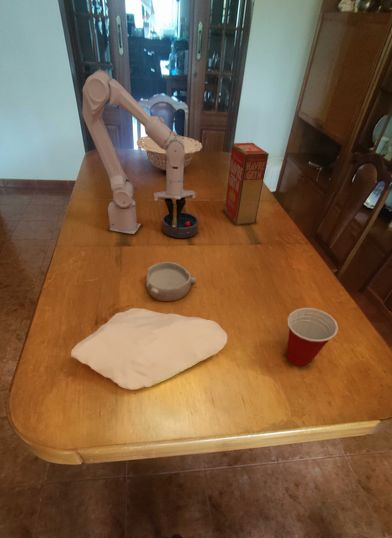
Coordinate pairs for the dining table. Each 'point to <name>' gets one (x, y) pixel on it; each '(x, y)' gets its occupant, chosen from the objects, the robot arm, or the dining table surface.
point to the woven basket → (155, 149)
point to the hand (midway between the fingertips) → (174, 218)
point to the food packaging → (245, 182)
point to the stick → (174, 215)
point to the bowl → (180, 226)
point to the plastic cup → (308, 334)
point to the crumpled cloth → (148, 346)
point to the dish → (168, 281)
